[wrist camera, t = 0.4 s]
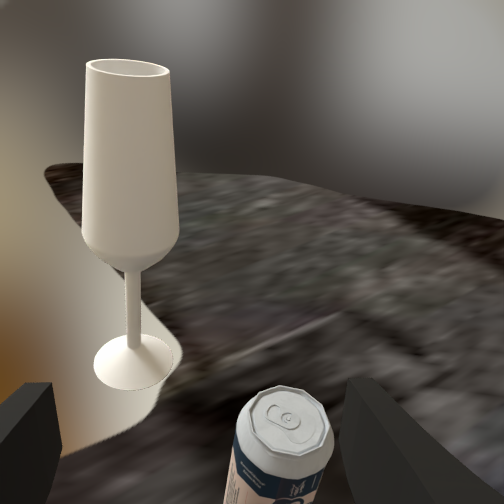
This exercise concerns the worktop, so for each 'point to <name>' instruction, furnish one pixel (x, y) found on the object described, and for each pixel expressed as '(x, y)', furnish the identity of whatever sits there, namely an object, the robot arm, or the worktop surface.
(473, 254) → the worktop surface
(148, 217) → the champagne flute
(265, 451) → the beige capped bottle
